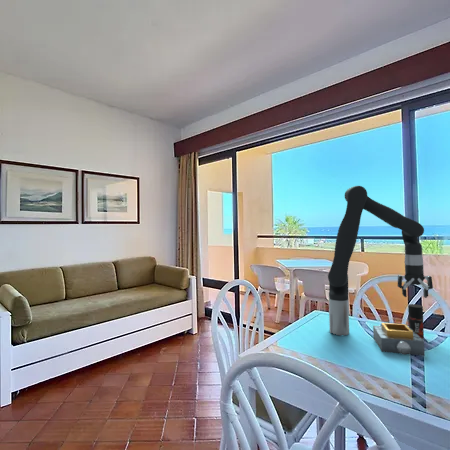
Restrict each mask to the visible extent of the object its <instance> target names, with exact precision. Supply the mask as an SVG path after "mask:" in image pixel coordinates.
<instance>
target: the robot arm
mask: <svg viewBox="0 0 450 450" xmlns="http://www.w3.org/2000/svg"><path fill="white" fill-rule="evenodd" d="M344 199H345V201H346V209H345V214H344V215H343V218H342V220H341V221H340V225H339V226H338V230H337V234H336V238H335V243H334V244H335V245H334V247H335V248H334V255H333V260H332V263H331V267H330V270H329V272H328V274H327V279H328V285H329V288H328V289H329V290H328V302H329V303H328V309H329V311H328V315H329V317H328V318H329V319H328V320H329V321H328V323H329V324H328V325H329V333H330V334H331V333H333V334H332V335H335V334H336V336H342V335H343V336H348V335H349V334H350V317H349V315H350V314H349V313H350V311H349V309H350V308H349V306H350V305H349V274H348V271H349V264H350V260H351V258H352V255H353V252H354V250H355V246H356V243H357V239H358V236H359V235H358V233H359V229H360V226H361V225H360V224H361V217H362V214H363V211H364V210H365V211H366V212H367V213H370V214H372V215H373V216H375V217H376V218H378V219H380V220H381V221H383V222H384V223H386V224H387V225H389V226H391V227H392V228H395V229H399V230H401V237H402V241H403V244H404V271H405V272H404V273H405V274H404V275H399V274H397V287H398V288H400V289H401V294H402V296H403V297H404V298H407V296H408V294H407V293H408V292H407V288H408V287H410V285H411V286H421V287H422V288H423V290H422V291H423V298H424V299H427V298H428V297H429V290H432V289H433V288H434V284H433V278H432V276H431V275H426V276H425V275H424V274H425V273H424V272H425V271H424V258H423V246H422V243H421V242H420V241H419V240H418V238H419V237H422V236H423V234H424V233H425V227H424V225H422V224H421V223H419V221H418V222H417V221H415V220H413V219H412V218H409V217H407V216H405V215H403V214H401V213H400V212H398V211H397V210H395V209H393V208H391V207H390V206H387V205H385V204H383V203H380V202H378V201H377V200H374V199H373V198H371V197H369V195H368V191H367V189H366V188H365V187H364V186H362V185H355V186H351V187H349V188H347V190H346V191H345V192H344ZM403 280H406V281H404V283H403ZM424 280H426V282H427V285H426V284H425V282H424Z"/></svg>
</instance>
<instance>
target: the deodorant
mask: <svg viewBox="0 0 450 450" xmlns="http://www.w3.org/2000/svg"><path fill="white" fill-rule="evenodd" d="M407 310H408V312H407V314H408V327H409V328H411V329H412V330H413V331H414V332H415V333H416V334H417V335H418V336H419V337H420V338H421V339H422V340H424V338H425V336H424V335H425V334H424V332H425V331H424V307H423V305H421V304H415V303H413V304H412V303H411V304H408V305H407Z"/></svg>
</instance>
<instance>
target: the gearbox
mask: <svg viewBox="0 0 450 450" xmlns="http://www.w3.org/2000/svg"><path fill="white" fill-rule="evenodd" d="M372 326H373V327H372V330H373V331H372V332H373V333H372V334H373V340H374V341H375V343H376V345H377V346H378V348H379V350H380V351H381V353H390V354H392V353H393V354H400V355H414V356H421V357H422V356H423V357H424V356H425V341H424V339H421V338H420V337H419V336H418V335H417V334H416V333H415V332H414V331H413V330H412V329H411V328H409V325H407V324H405V323H393V322H392V323H390V322H381V324H380V325H372Z"/></svg>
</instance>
